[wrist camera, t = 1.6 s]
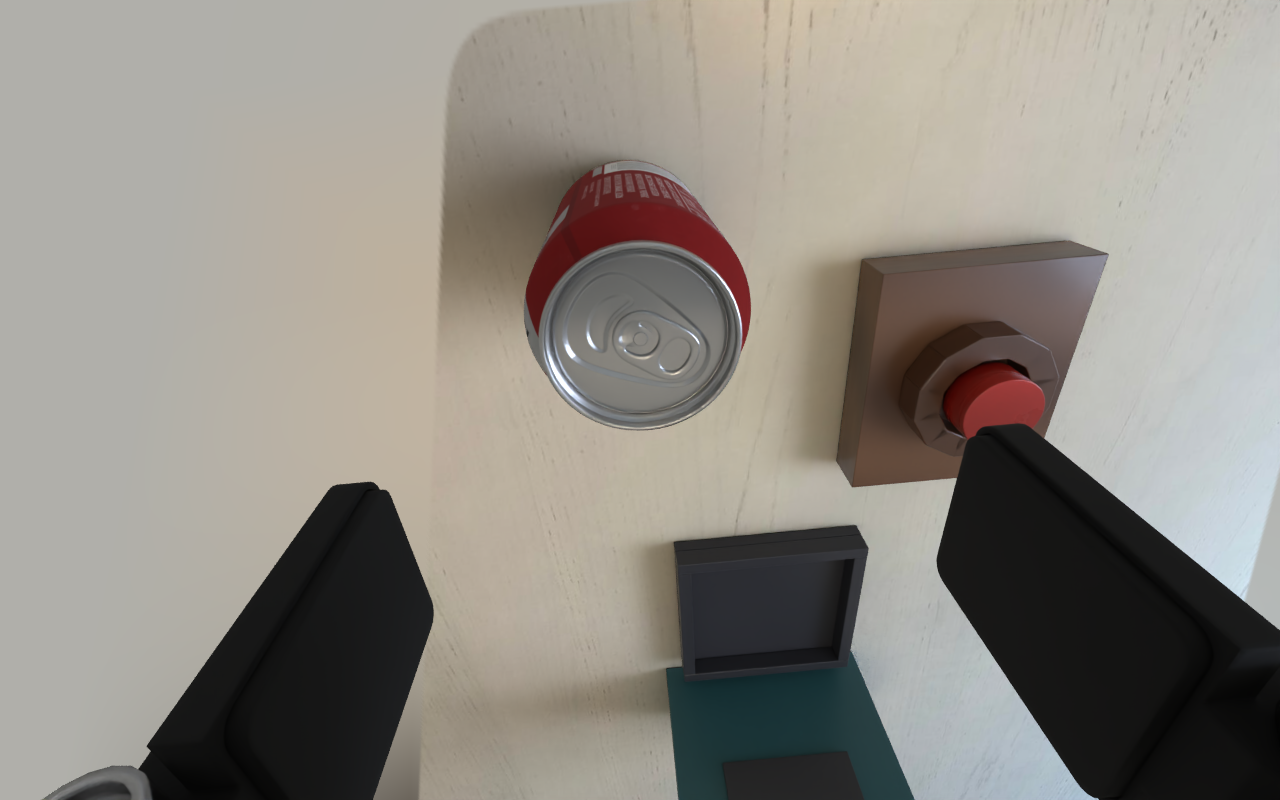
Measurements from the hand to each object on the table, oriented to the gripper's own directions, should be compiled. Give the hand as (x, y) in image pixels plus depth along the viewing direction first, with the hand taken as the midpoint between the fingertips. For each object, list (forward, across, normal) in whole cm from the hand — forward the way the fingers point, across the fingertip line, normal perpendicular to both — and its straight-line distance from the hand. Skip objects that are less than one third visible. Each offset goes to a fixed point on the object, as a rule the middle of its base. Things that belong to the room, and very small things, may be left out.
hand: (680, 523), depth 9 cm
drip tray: (+19, -6, +25) cm, 32 cm away
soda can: (+19, 0, 0) cm, 19 cm away
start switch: (+19, -16, +8) cm, 26 cm away
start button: (+15, -16, +8) cm, 23 cm away
